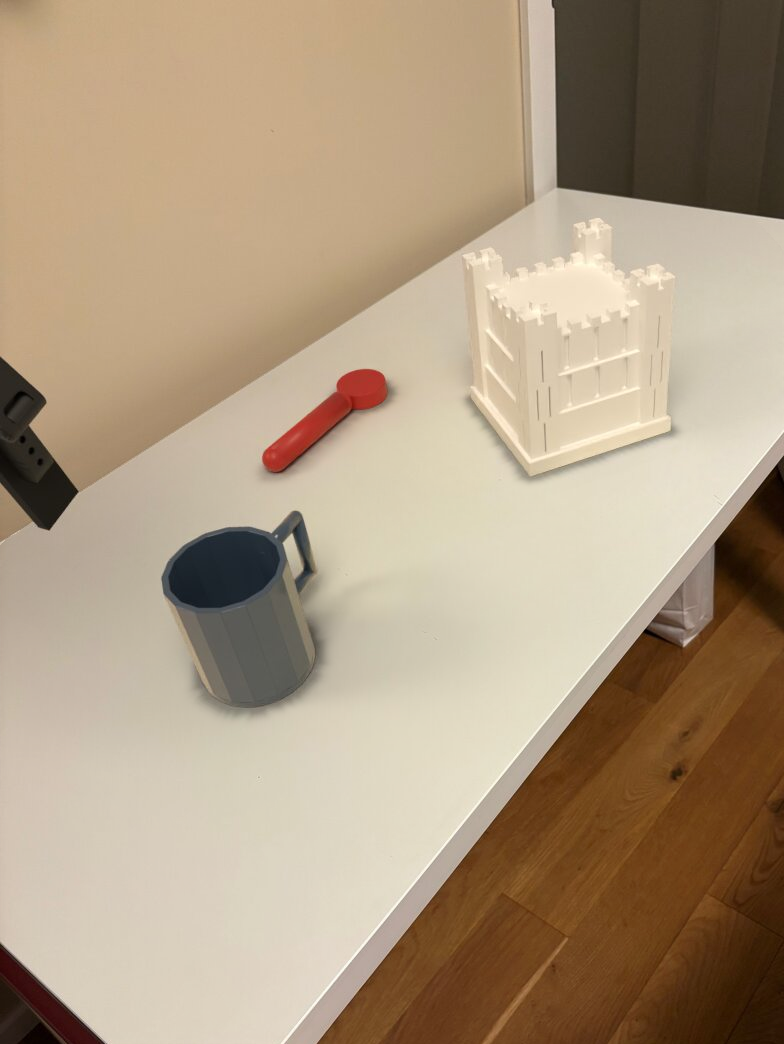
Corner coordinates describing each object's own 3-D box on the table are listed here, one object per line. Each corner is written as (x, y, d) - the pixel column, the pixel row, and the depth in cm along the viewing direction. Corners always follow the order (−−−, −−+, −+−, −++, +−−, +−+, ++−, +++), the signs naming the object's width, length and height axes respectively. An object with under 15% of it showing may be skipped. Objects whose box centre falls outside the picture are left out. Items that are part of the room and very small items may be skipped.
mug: (273, 722, 68) (237, 627, 61) (180, 686, 71) (135, 592, 64) (365, 602, 76) (342, 505, 69) (277, 575, 79) (247, 480, 72)
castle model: (471, 398, 94) (456, 254, 84) (598, 359, 97) (600, 215, 86) (530, 476, 85) (522, 324, 74) (670, 430, 87) (681, 277, 77)
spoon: (289, 483, 88) (284, 462, 86) (250, 469, 90) (243, 448, 88) (397, 388, 97) (393, 368, 95) (358, 377, 99) (354, 357, 98)
